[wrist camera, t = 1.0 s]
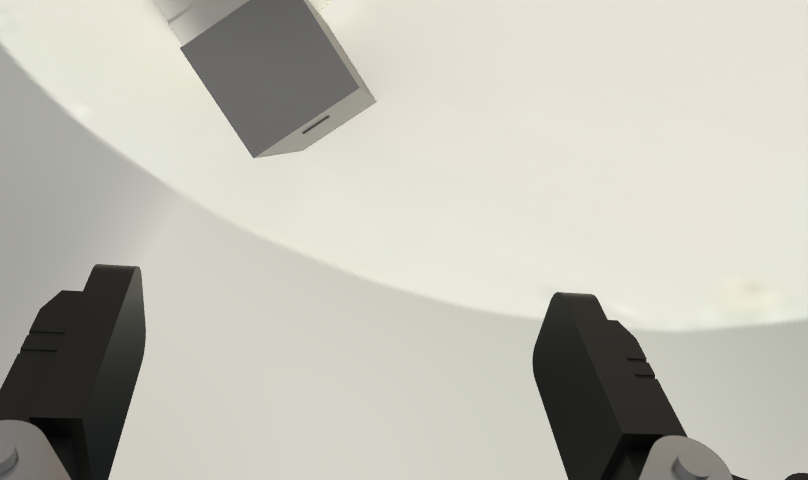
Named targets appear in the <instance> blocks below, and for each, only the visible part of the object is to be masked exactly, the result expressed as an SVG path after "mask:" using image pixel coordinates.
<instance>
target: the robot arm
mask: <svg viewBox="0 0 808 480" xmlns="http://www.w3.org/2000/svg"><path fill="white" fill-rule="evenodd" d="M145 334H146V328H145V316H144V302H143V289H142V278H141V271H140V268H139V267H137V266H118V265H102V264H97V265H95V266H94V267H93V269H92V271H91V274H90V276H89V278H88V281H87V283H86V286H85V288H84V290H83V291H65V290H62V291H61V292H60V293H59V294H57V295H56V296H55V297H54V298H53V299H52V300H50V301H49V302H48V303H47V304H45V305H44V306H43V307H42V308H41V309H40V311H39V312H38V314H37V317H36V319H35V321H34V323H33V325H32V327H31V329H30V331H29V335H27V337H26V339H25V341H24V343H23V345H22V347H21V351H20V354H18V355H17V357H16V359H15V361H14V363H13V365H12V367H11V369H10V371H9V373H8V375H7V377H6V379H5V381H4V383H3V385H2V387H1V389H0V480H108V478H109V474H110V471H111V467H112V464H113V460H114V457H115V454H116V450H117V447H118V443H119V440H120V436H121V433H122V429H123V426H124V423H125V419H126V416H127V412H128V409H129V405H130V402H131V398H132V395H133V391H134V388H135V385H136V381H137V378H138V374H139V370H140V367H141V363H142V360H143V355H144V348H145V338H146V335H145ZM533 372H534V377H535V381H536V383H537V387H538V390H539V392H540V395H541V398H542V401H543V405H544V407H545V411H546V413H547V417H548V419H549V423H550V426H551V429H552V432H553V435H554V438H555V441H556V444H557V447H558V450H559V452H560V456H561V459H562V462H563V465H564V468H565V471H566V473H567V477H568V480H747V479H743V478H740V477H737V476H735V475H732V474H731V473H730V471H729V469H728V467H727V466H726V464H725V463H724V462H723V460H722V459H721V458H720V457H719V456H718V455H717V454H716V453H715V452H714V451H712V450H711V449H710V448H708V447H707V446H705V445H703V444H701V443H700V442H698V441H695V440H693V439H690V438H688V437H687V435H686V433H685V431H684V430H683V427H682V426H681V424H680V422H679V420H678V418H677V416H676V414H675V412H674V410H673V408H672V406H671V404H670V403H669V401H668V399H667V397H666V395H665V393H664V391H663V389H662V388H661V385H660V383H659V381H658V380H657V379H655V374H654V372H653V370H652V368H651V366H650V364H649V363H647V362H646V357H645V355H644V353H643V351H642V349H641V347H640V345H639V343H638V341H637V339H636V338H635V337H634V336H633V335H632V334H631V333H630V332H629V331H628V330H627V329H626V328H625V327H623V326H622V325H621V324H620V323H619V322H618V321H616V320H607V318H606V316H605V314H604V312H603V310H602V307H601V305H600V303H599V301H598V299H597V298H596V297H595V296H594V295H592V294H579V293H562V292H557V293H555V294H554V295H553V297H552V299H551V301H550V304H549V307H548V310H547V313H546V316H545V318H544V321H543V324H542V327H541V330H540V333H539V336H538V338H537V341H536V344H535V348H534V352H533ZM785 480H808V474H807V473H797V474H792V475H790V476H789V477H787V478H786V479H785Z"/></svg>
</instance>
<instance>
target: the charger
mask: <svg viewBox="0 0 808 480" xmlns="http://www.w3.org/2000/svg"><path fill="white" fill-rule="evenodd" d="M180 49H181V51H182V52H183V54H184V55H185V57H186V58H187V60H188V61H189V63H190V64H191V66H192V67H193V69H194V70H195V72H196V73H197V75H198V76H199V78H200V79H201V81H202V82H203V84H204V85H205V87H206V88H207V90H208V91H209V93H210V94H211V95H212V97H213V98H214V100H215V101H216V103H217V104H218V106H219V107H220V109H221V110H222V112H223V113H224V115H225V116H226V118H227V119H228V121H229V122H230V124H231V125H232V127H233V128H234V130H235V131H236V133H237V134H238V136H239V137H240V139H241V140H242V142H243V143H244V145H245V146H246V148H247V149H248V151H249V152H250V154H251V155H252V157H253V158H258V157H265V156H271V155H278V154H284V153H291V152H297V151H303V150H304V149H306V148H307V147H309V146H310V145H312V144H313V143H315V142H316V141H318V140H319V139H321V138H323V137H324V136H326V135H327V134H329V133H330V132H332V131H333V130H335V129H336V128H338V127H339V126H341V125H342V124H344V123H345V122H347V121H348V120H350V119H351V118H353V117H354V116H356V115H358V114H359V113H361V112H362V111H364V110H365V109H367V108H368V107H370V106H371V105H373V104H374V103H376V100H375V99H374V97H373V96H372V94H371V92H370V91H369V89H368V88H367V86H366V85H365V83H364V81H363V80H362V78H361V77H360V75H359V74H358V72H357V70H356V69H355V67H354V66H353V64H352V63H351V61H350V59H349V58H348V56H347V55H346V53H345V52H344V50H343V48H342V47H341V45H340V44H339V42H338V41H337V39H336V37H335V36H334V34H333V33H332V31H331V30H330V28H329V26H328V25H327V23H326V22H325V21H324V20H323V18H322V17H321V16H320V15H319V13H318V12H317V11H316V10H315V8H314V7H313V6H312V5H311V3H310V2H309V1H308V0H249V1H248V2H246V3H245V4H243V5H242V6H240V7H239V8H237V9H236V10H235V11H233V12H232V13H230V14H229V15H227V16H226V17H224V18H223V19H222V20H220V21H219V22H217V23H216V24H214V25H213V26H211V27H210V28H208V29H207V30H206V31H204V32H203V33H201V34H200V35H198V36H197V37H195V38H194V39H192V40H191V41H190V42H188V43H187V44H185V45H184V46H182V47H181V48H180Z"/></svg>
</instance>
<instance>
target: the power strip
mask: <svg viewBox="0 0 808 480" xmlns="http://www.w3.org/2000/svg"><path fill="white" fill-rule="evenodd" d="M153 1H154V3H155V4H156V6H157V7H158V9H159V10H160V12H161V13H162V15H163V16H164V18H165V19H166V21H167V22H168V24H169V27H170V28H171V30H172V31H173V33H174V34H175V36H176V37H177V39H178V40H179V42H180V43H181V45H182V46H184V45H185V44H187V43H188V42H190V41H191V40H192V39H194V38H195V37H197V36H198V35H200V34H201V33H203V32H204V31H206V30H207V29H208V28H210V27H211V26H213V25H214V24H216V23H217V22H219V21H220V20H222V19H223V18H224V17H226V16H227V15H229V14H230V13H232V12H233V11H235V10H236V9H237V8H239V7H240V6H242V5H243V4H245V3H246V2H248V1H249V0H153ZM308 1H309V2H310V3H311V5H312V6H313V7H314V8H315V10H316V11H319V10H320V9H322V8H323V7H325V6H326V5H328V4H329V3H331V2H332V1H334V0H308Z"/></svg>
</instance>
